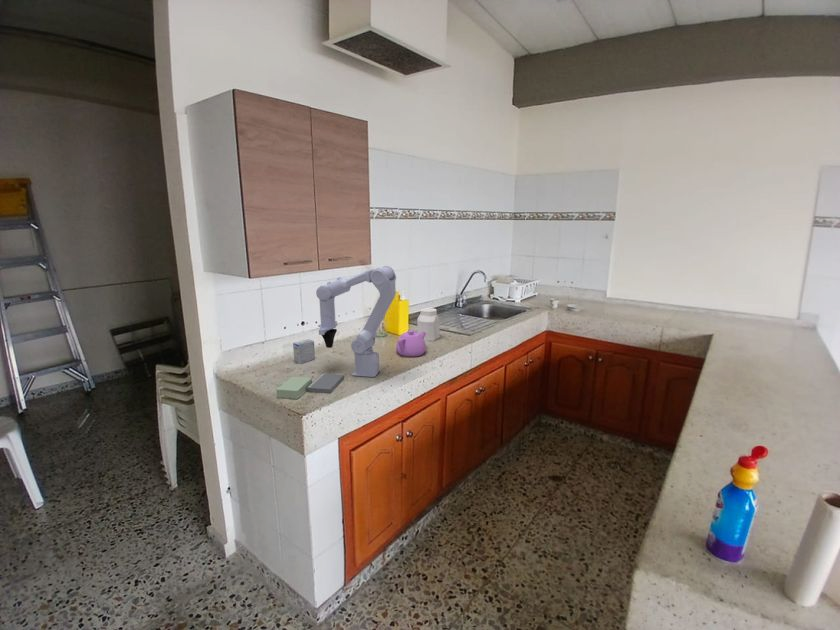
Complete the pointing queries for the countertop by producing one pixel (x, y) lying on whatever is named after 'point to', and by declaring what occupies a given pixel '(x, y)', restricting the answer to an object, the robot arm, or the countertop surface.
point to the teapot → (411, 344)
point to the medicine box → (304, 351)
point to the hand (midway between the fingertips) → (329, 347)
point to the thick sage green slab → (293, 387)
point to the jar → (429, 324)
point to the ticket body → (325, 383)
